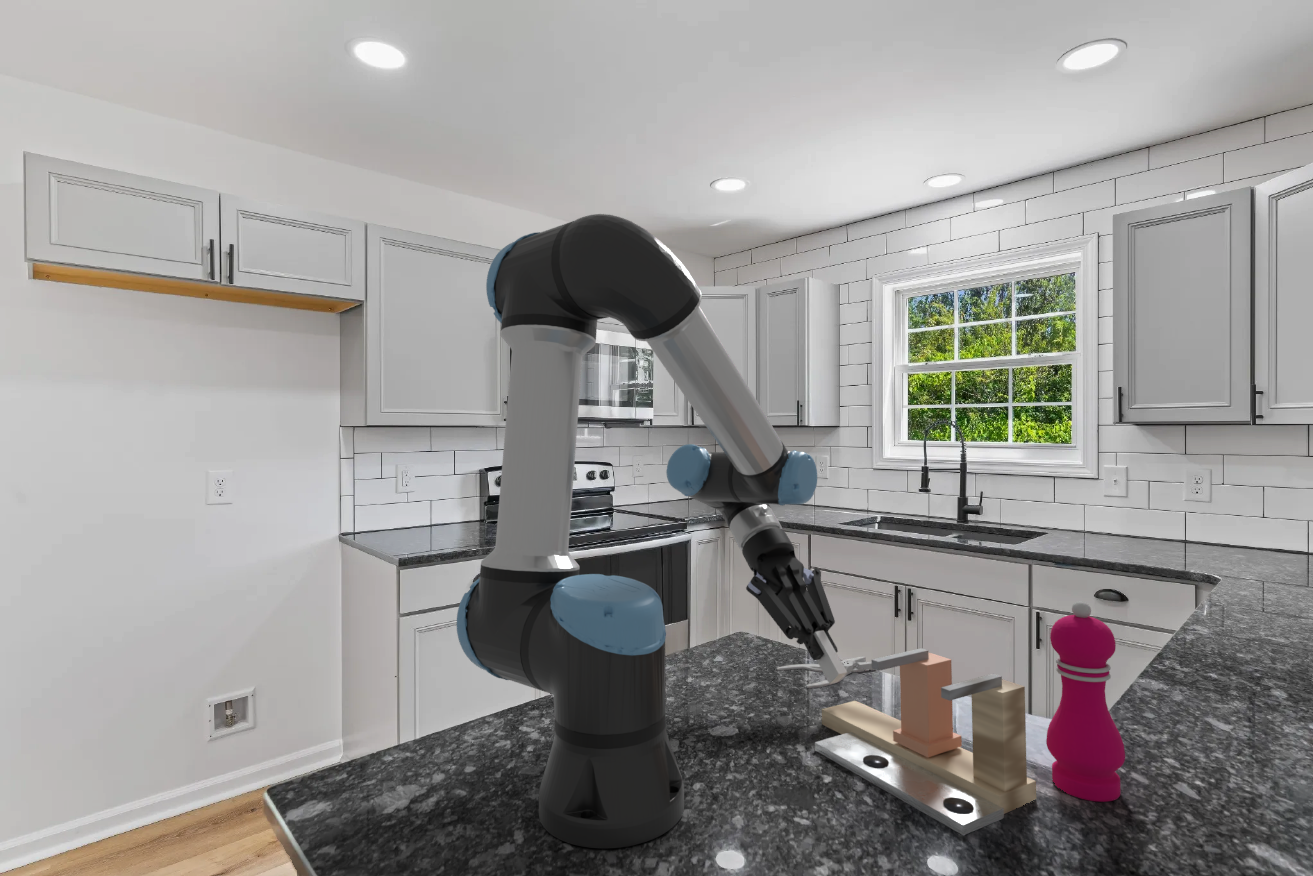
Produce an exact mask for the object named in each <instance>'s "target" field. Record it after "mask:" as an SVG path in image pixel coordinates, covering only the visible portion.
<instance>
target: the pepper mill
mask: <svg viewBox="0 0 1313 876" xmlns="http://www.w3.org/2000/svg"><path fill="white" fill-rule="evenodd" d="M1071 612H1072V613H1073V614H1069V615H1066V616H1063V617H1060V618H1059V619H1058V620H1056V621H1055V622H1054V624H1053V625H1052V627H1051V629H1050V633H1049V634H1050V635H1049V639H1050V644H1051V646H1052V649H1054V651H1055V652H1056V653H1057V655H1058V657H1056V659H1055V663H1056V664H1057V665H1056V667H1055V670H1056V673H1058V674H1059V675H1060V678H1061V697H1060V701H1059V705H1058V707H1057V709H1056V710H1055V713H1054V715H1053V717H1052V718H1051V720H1050V722H1049V725H1048V728H1047V732H1046V740H1045V742H1046V747H1047V750H1048V751H1049V753H1050V755H1051V756H1052V757H1053V758H1054V759H1055V761H1054V762H1053V763H1052V764H1051V776H1052V777H1051V778H1052V779H1053V780H1052V779H1051V780H1052V782H1054V783H1055V784H1054V783H1053V784H1054V786H1055V787H1056V786H1057V787H1056V788H1058V789H1059V788H1060V789H1061V790H1060V789H1059V790H1060V791H1062V790H1063V791H1064V792H1063V791H1062V792H1063V793H1065V792H1066V794H1068V795H1070V796H1072V797H1075V798H1078V799H1082V800H1085V801H1091V802H1097V803H1098V802H1099V803H1105V802H1113V801H1116V800H1118V799H1119V797H1121V791H1122V790H1121V777H1120V775H1119V774H1118V773H1117V771H1118V770H1120V768H1121V767H1122V766H1124V763H1125V762H1126V761H1125V760H1126V752H1125V751H1126V750H1125V745H1124V742H1123V738H1122V736H1121V734H1120V731H1119V729H1118V728H1117V724H1116V723H1115V721H1114V720H1113V717H1112V716H1111V713H1110V711H1109V708H1108V704H1107V700H1106V698H1107V697H1106V686H1107V685H1106V683H1107V681H1109V680H1111V677H1112V675H1111V672H1110V670H1111V665H1110V664H1109V663H1107V662H1108V660H1110V658H1112V657H1113V655H1114V654H1115V652H1116V639H1115V635H1114V633H1113V632H1112V630H1111V628H1110V627H1109V626H1108V625H1107V624H1106V623H1104V622H1103V621H1101V620H1100V619H1098V618H1095V617H1093V616H1090V615H1091V614H1092V608H1091V606H1090V605H1089V604H1088V603H1087V602H1085V601H1075V602H1074V604H1072V606H1071Z"/></svg>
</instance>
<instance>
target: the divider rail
mask: <svg viewBox="0 0 1313 876" xmlns="http://www.w3.org/2000/svg"><path fill="white" fill-rule="evenodd" d="M968 696H971V724H972V725H971V728H972V731H971V732H972V737H971V738H972V751H970V750H967V749H965V748H963V747H962V746H961V747H958V748H955V749H952V750H949V751H946V752H943V753H940V754H937V755H934V756H931V757H926V756H924V755H922V754H920V753H917V752H915V751H913V750H911V749H909V748H907V747H905V746H903V745H901V744H899V743H897V742H895V741H893V731H894V730H897V729H900V728H901V719H898V718H895V717H893V716H891V715H889V714H886V713H885V712H882V711H880V710H877V709H876V708H872V707H871V706H869V705H866V704H863V703H862V702H859V701H857V700H851V701H848V702H844V703H842V704H838V705H833V706H830V707H829V706H828V707H825V708H821V725H823V726H825V727H826V728H828V729H830V730H832V731H834V732H836V733H838V734H840V735H842V734H845V733H849V732H853V733H855V734H857V735H859V736H861V737H863V738H865V739H867V740H869V741H871V742H873V743H875V744H877V745H879V746H881V747H883V748H885V749H887V750H889V751H891V752H893V753H895V754H897V755H899V756H901V757H903V758H905V759H907V760H909V761H911V762H913V763H915V764H917V765H919V766H921V767H923V768H925V769H927V770H929V771H931V772H933V773H935V774H937V775H939V776H941V777H943V778H945V779H947V780H949V781H950V782H952V783H954V784H956V785H958V786H960V787H962V788H964V789H966V790H968V791H970V792H972V793H974V794H976V795H978V796H980V797H982V798H984V799H986V800H988V801H990V802H992V803H994V804H996V805H998V806H1000V807H1002V808H1004V815H1005V814H1007V813H1010V812H1011V811H1014V810H1017V809H1019V808H1021V807H1024V806H1025V804H1026V803H1029V804H1031V803H1032V802H1031V801H1033V800H1035V799H1036V800H1037V780H1034V779H1032V778H1030V777H1028V774H1027V773H1028V772H1027V771H1028V769H1027V764H1028V763H1027V736H1026V735H1027V730H1026V725H1027V724H1026V687H1025V685H1021V684H1018V683H1016V682H1012V681H1009V680H1005V679H1004V678H1003V676H1002V675H999V674H995V673H990V674H989V673H988V674H986V675H983V676H980V677H979V676H978V677H975V678H971V679H968V680H964V681H960V682H957V683H952V685H949V686H945V687H941V698H944V699H947V700H949V701H951V700H952V701H953V700H958V699H961V698H964V697H968ZM1030 802H1031V803H1030ZM1033 802H1034V801H1033ZM1023 805H1024V806H1023ZM1026 805H1027V804H1026ZM1016 808H1017V809H1016Z"/></svg>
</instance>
